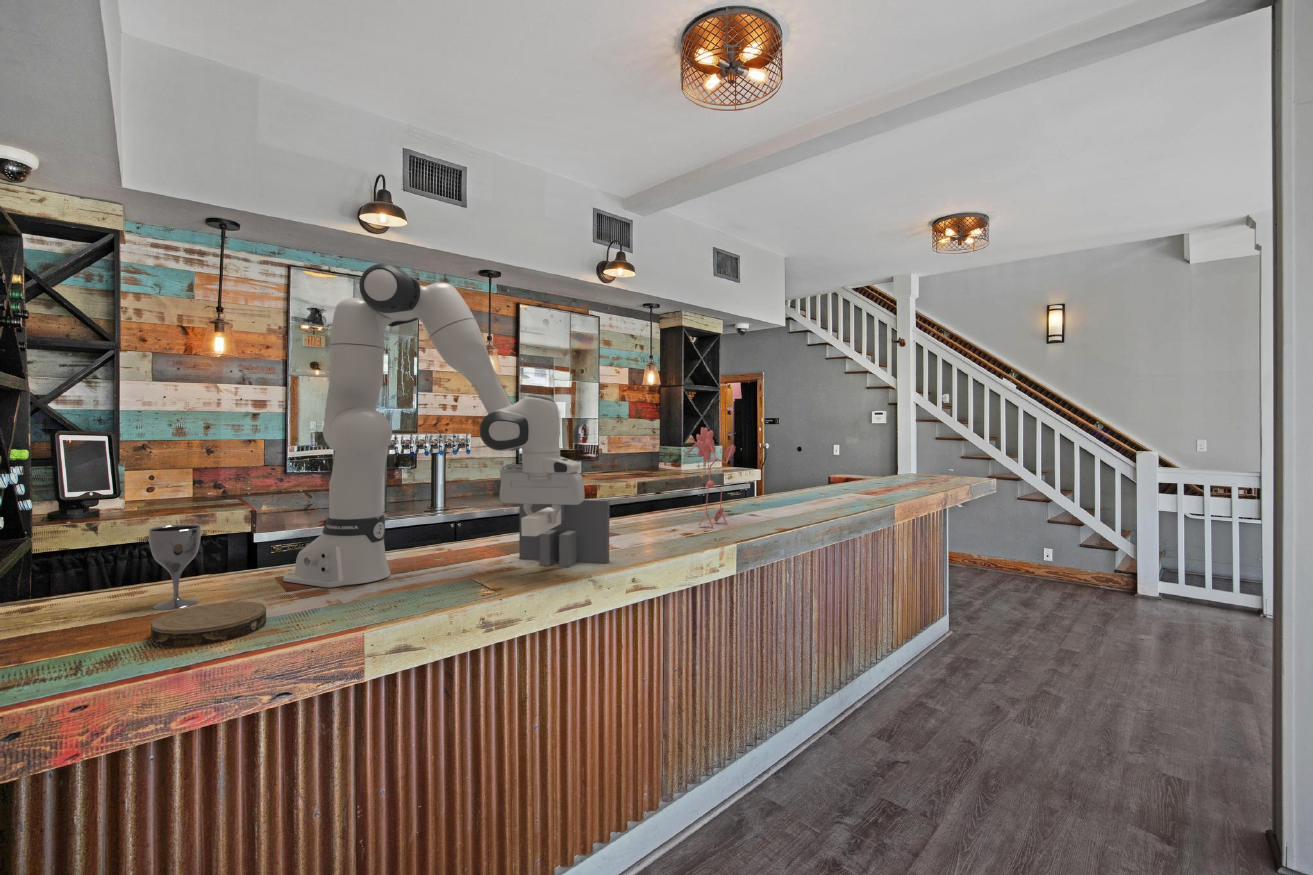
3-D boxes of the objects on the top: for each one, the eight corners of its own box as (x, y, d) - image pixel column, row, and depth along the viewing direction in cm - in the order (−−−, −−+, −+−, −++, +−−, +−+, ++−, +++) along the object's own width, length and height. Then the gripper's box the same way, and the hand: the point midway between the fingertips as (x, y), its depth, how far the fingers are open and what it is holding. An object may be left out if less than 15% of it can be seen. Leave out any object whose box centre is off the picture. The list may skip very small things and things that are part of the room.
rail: (521, 535, 138) (521, 509, 138) (556, 519, 160) (555, 496, 159) (536, 536, 137) (535, 509, 137) (569, 519, 159) (568, 496, 159)
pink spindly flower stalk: (741, 522, 226) (740, 426, 225) (702, 531, 205) (700, 426, 205) (706, 519, 235) (705, 427, 235) (665, 527, 215) (664, 427, 215)
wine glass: (159, 613, 115) (159, 532, 114) (142, 606, 119) (141, 528, 118) (208, 602, 121) (208, 526, 121) (190, 596, 126) (190, 523, 125)
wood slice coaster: (124, 648, 97) (124, 630, 97) (199, 617, 113) (198, 601, 113) (225, 649, 97) (225, 630, 97) (285, 617, 113) (285, 601, 113)
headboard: (509, 563, 157) (509, 501, 156) (522, 557, 165) (522, 497, 164) (600, 568, 152) (600, 504, 152) (609, 561, 160) (609, 500, 160)
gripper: (494, 465, 144) (495, 523, 144) (578, 465, 140) (578, 526, 140) (506, 463, 150) (506, 519, 151) (586, 463, 146) (587, 521, 147)
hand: (542, 522), depth 145 cm, fingers closed on rail, 3 cm apart
